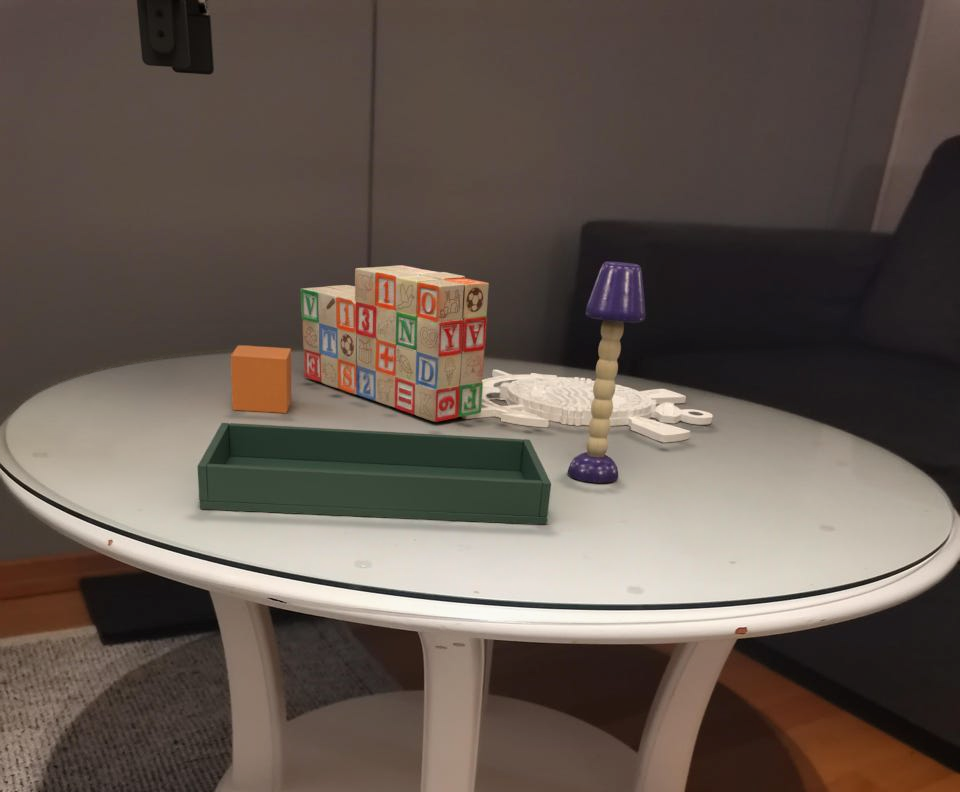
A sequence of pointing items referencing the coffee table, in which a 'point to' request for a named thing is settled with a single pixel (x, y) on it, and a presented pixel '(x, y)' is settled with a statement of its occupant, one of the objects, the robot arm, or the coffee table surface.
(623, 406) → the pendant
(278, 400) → the orange block
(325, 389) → the coffee table surface
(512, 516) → the tray
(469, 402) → the stack of blocks
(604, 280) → the toy lamp
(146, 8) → the robot arm
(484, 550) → the coffee table surface
